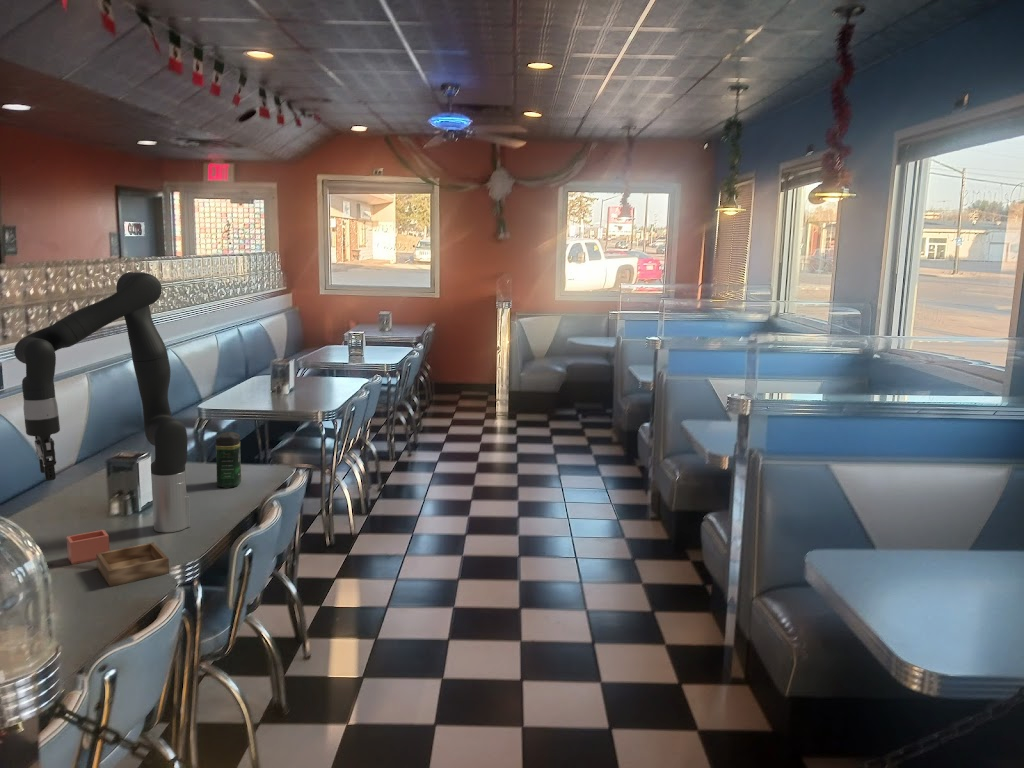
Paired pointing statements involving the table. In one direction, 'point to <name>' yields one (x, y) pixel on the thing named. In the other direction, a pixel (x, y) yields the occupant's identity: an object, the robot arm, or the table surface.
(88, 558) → the red open box
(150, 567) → the wooden crate
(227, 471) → the coffee jar
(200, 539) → the table surface
